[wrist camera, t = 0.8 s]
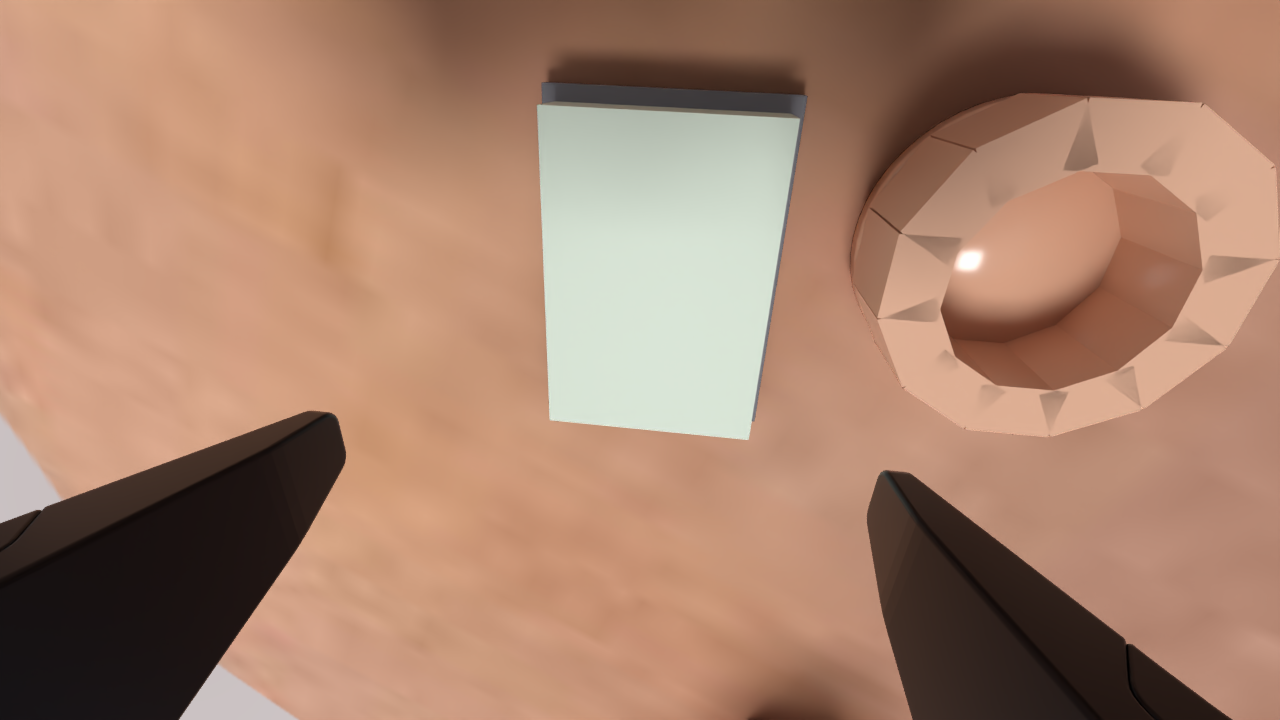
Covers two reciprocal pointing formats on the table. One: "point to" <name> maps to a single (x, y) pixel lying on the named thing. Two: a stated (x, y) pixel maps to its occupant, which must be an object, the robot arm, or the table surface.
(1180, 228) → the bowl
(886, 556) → the robot arm
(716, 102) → the mat
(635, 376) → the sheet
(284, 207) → the table surface
